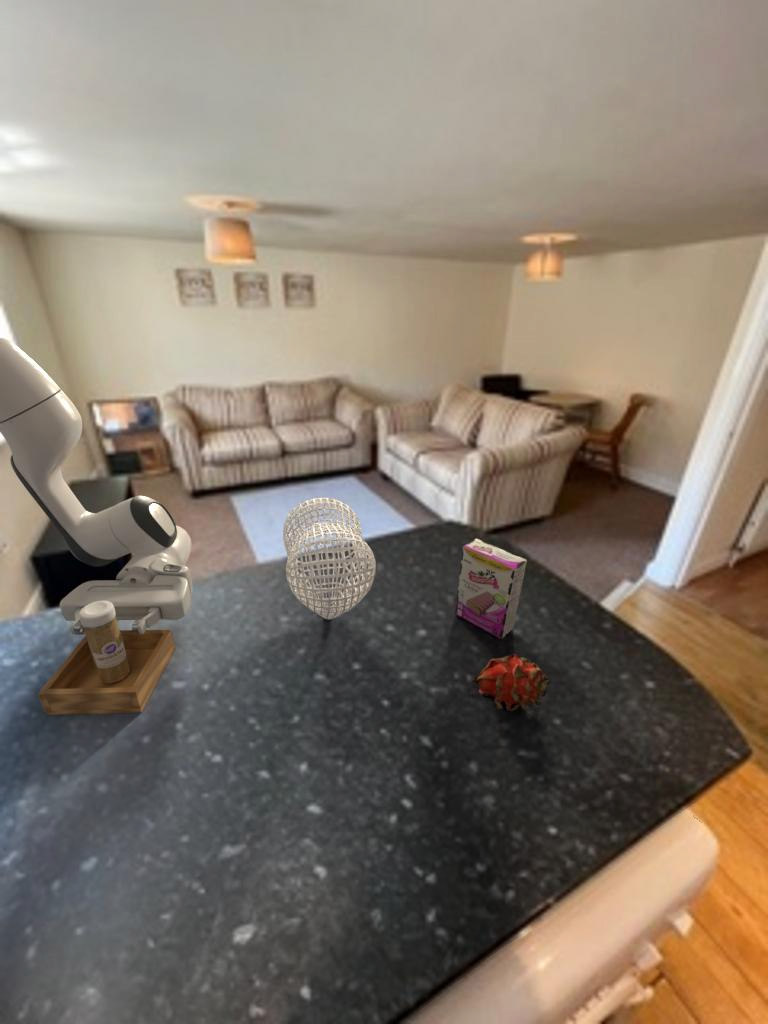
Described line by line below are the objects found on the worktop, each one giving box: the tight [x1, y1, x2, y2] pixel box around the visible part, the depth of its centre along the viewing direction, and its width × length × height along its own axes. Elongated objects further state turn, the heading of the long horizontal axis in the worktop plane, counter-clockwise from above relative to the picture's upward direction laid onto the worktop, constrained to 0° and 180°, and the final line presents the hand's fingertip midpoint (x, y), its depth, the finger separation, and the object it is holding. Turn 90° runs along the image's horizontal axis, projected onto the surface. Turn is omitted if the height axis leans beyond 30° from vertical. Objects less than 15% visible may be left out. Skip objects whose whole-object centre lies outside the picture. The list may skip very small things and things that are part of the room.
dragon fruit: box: [471, 653, 550, 712], centre depth 71 cm, size 8×8×12 cm
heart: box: [282, 497, 377, 620], centre depth 86 cm, size 28×16×22 cm, turn 14°
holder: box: [37, 629, 176, 716], centre depth 73 cm, size 14×14×4 cm
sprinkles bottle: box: [79, 601, 130, 684], centre depth 71 cm, size 5×5×14 cm
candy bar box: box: [454, 538, 528, 638], centre depth 86 cm, size 11×5×16 cm, turn 46°
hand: (106, 631), depth 71 cm, fingers open, 8 cm apart
